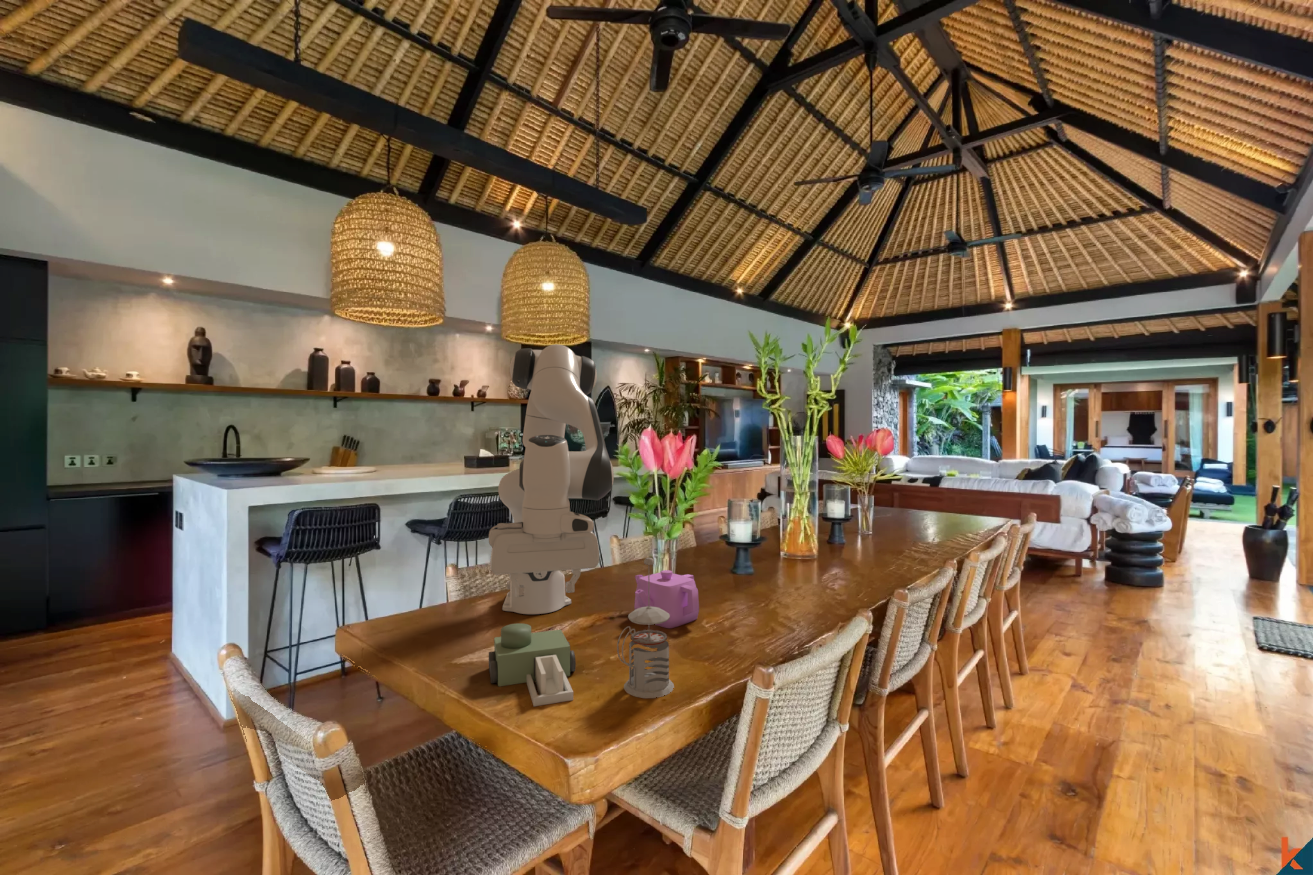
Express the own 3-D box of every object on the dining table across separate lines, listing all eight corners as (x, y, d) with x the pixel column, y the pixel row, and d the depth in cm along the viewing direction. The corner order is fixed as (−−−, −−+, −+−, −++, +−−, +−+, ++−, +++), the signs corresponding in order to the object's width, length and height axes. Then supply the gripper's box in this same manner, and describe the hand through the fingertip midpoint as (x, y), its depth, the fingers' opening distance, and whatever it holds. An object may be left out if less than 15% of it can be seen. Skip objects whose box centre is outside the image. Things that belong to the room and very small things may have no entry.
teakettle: (701, 629, 141) (701, 579, 141) (632, 629, 141) (632, 579, 141) (696, 607, 158) (696, 563, 158) (635, 607, 158) (635, 563, 158)
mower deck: (488, 666, 119) (488, 623, 119) (566, 655, 125) (566, 615, 125) (495, 712, 100) (495, 661, 100) (587, 697, 106) (587, 649, 106)
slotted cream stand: (535, 682, 112) (535, 657, 112) (556, 679, 113) (555, 654, 113) (541, 701, 104) (541, 674, 104) (563, 697, 106) (563, 671, 106)
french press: (684, 688, 109) (684, 559, 109) (633, 706, 103) (633, 567, 102) (655, 670, 117) (655, 549, 117) (606, 685, 111) (605, 557, 110)
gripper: (489, 526, 102) (489, 603, 102) (601, 521, 108) (600, 594, 109) (488, 520, 108) (487, 593, 108) (594, 516, 114) (593, 585, 115)
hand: (545, 593), depth 108 cm, fingers open, 8 cm apart
